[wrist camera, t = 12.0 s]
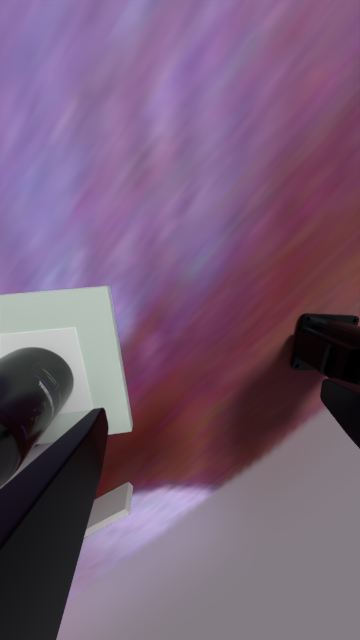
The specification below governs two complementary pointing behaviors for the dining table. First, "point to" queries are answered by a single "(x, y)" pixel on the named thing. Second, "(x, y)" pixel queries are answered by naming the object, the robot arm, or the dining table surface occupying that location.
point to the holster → (103, 507)
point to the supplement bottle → (29, 402)
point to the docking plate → (73, 349)
